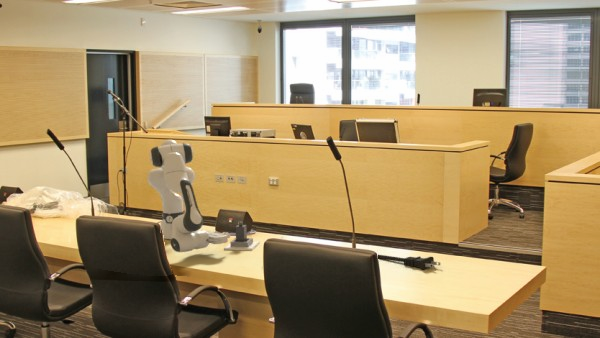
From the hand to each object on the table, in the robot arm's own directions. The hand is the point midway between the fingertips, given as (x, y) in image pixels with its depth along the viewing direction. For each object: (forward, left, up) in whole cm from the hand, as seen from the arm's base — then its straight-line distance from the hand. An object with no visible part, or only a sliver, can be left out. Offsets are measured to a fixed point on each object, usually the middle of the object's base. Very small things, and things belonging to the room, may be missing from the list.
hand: (223, 234), depth 374 cm
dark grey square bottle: (-10, +6, -8) cm, 14 cm away
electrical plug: (+15, +90, -9) cm, 92 cm away
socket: (-10, +7, -9) cm, 14 cm away
